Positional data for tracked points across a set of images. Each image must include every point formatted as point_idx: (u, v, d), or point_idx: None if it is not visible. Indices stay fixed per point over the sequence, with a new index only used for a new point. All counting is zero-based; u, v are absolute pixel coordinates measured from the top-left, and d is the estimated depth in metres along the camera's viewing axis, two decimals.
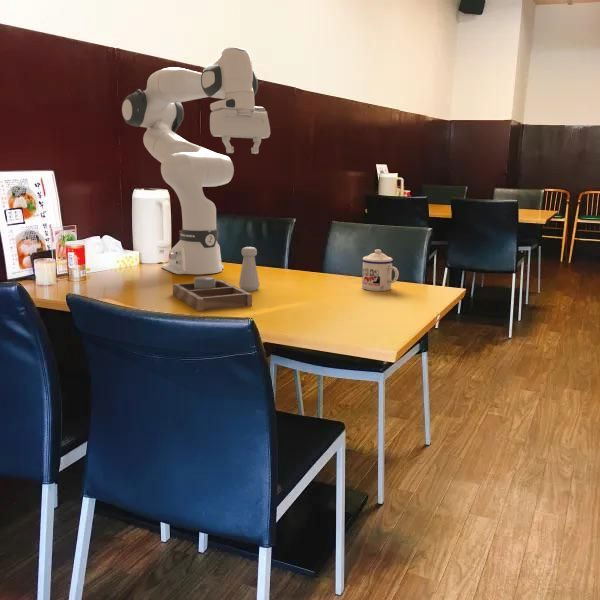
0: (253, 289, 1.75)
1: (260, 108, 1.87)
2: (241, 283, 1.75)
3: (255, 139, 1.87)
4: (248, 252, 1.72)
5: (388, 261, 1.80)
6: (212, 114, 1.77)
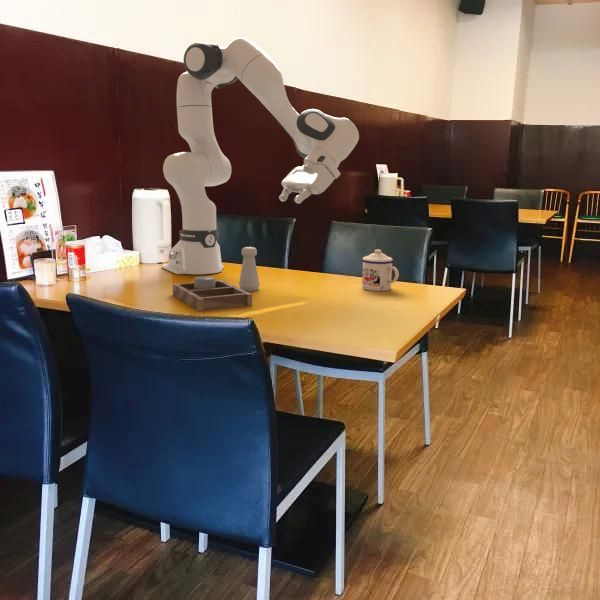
0: (253, 289, 1.75)
1: None
2: (241, 283, 1.75)
3: (289, 189, 1.82)
4: (248, 252, 1.72)
5: (388, 261, 1.80)
6: (326, 171, 1.71)
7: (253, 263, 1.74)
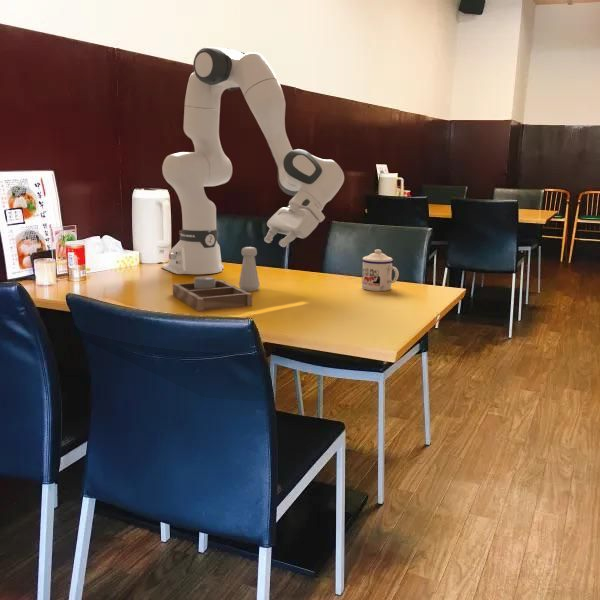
0: (253, 289, 1.75)
1: None
2: (241, 283, 1.75)
3: (274, 230, 1.83)
4: (248, 252, 1.72)
5: (388, 261, 1.80)
6: (311, 216, 1.71)
7: (253, 263, 1.74)
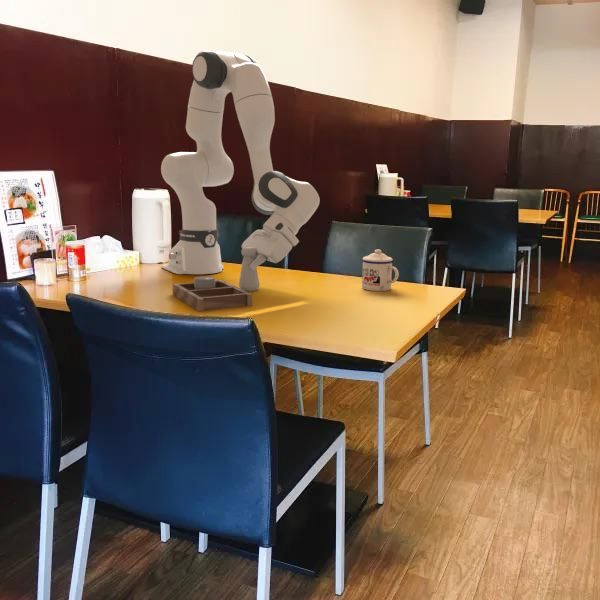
0: (253, 289, 1.75)
1: None
2: (241, 283, 1.75)
3: None
4: (248, 252, 1.72)
5: (388, 261, 1.80)
6: (284, 240, 1.69)
7: None
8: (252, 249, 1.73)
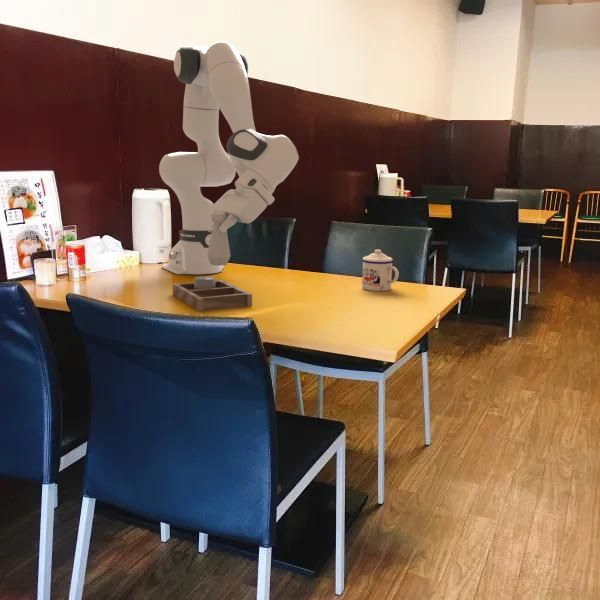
0: (222, 260, 1.54)
1: None
2: (209, 252, 1.54)
3: None
4: (218, 217, 1.52)
5: (388, 261, 1.80)
6: (257, 197, 1.48)
7: None
8: (223, 214, 1.53)
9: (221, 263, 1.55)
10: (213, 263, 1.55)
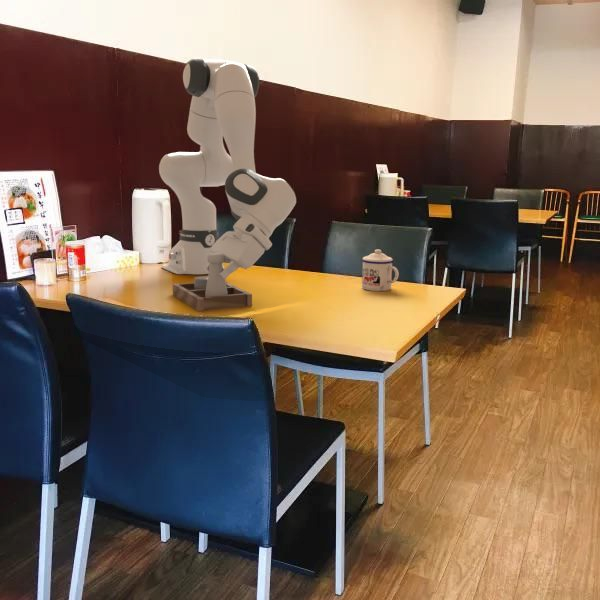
0: None
1: None
2: (207, 293, 1.56)
3: None
4: (214, 258, 1.54)
5: (388, 261, 1.80)
6: (254, 243, 1.50)
7: None
8: (219, 255, 1.54)
9: None
10: None
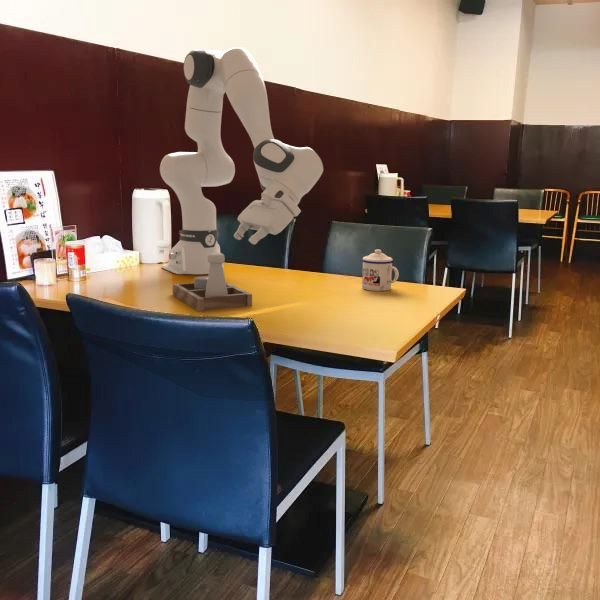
0: None
1: None
2: (207, 293, 1.56)
3: (246, 226, 1.64)
4: (214, 258, 1.54)
5: (388, 261, 1.80)
6: (284, 209, 1.52)
7: (220, 271, 1.55)
8: (219, 255, 1.54)
9: None
10: None
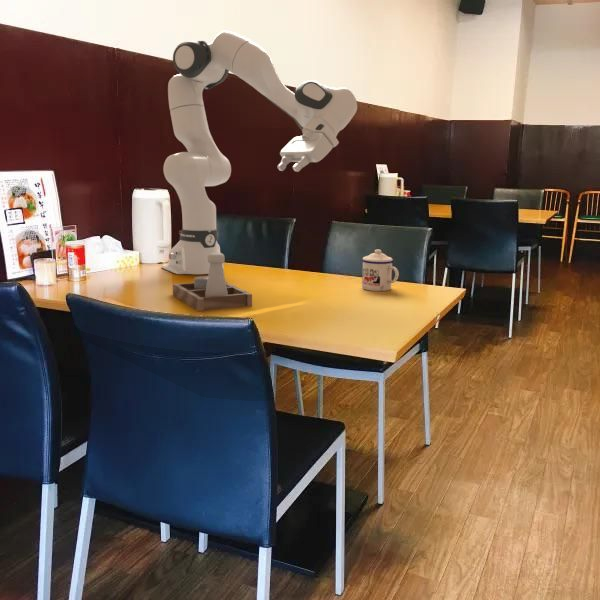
0: None
1: None
2: (207, 293, 1.56)
3: (288, 159, 1.83)
4: (214, 258, 1.54)
5: (388, 261, 1.80)
6: (325, 139, 1.71)
7: (220, 271, 1.55)
8: (219, 255, 1.54)
9: None
10: None
